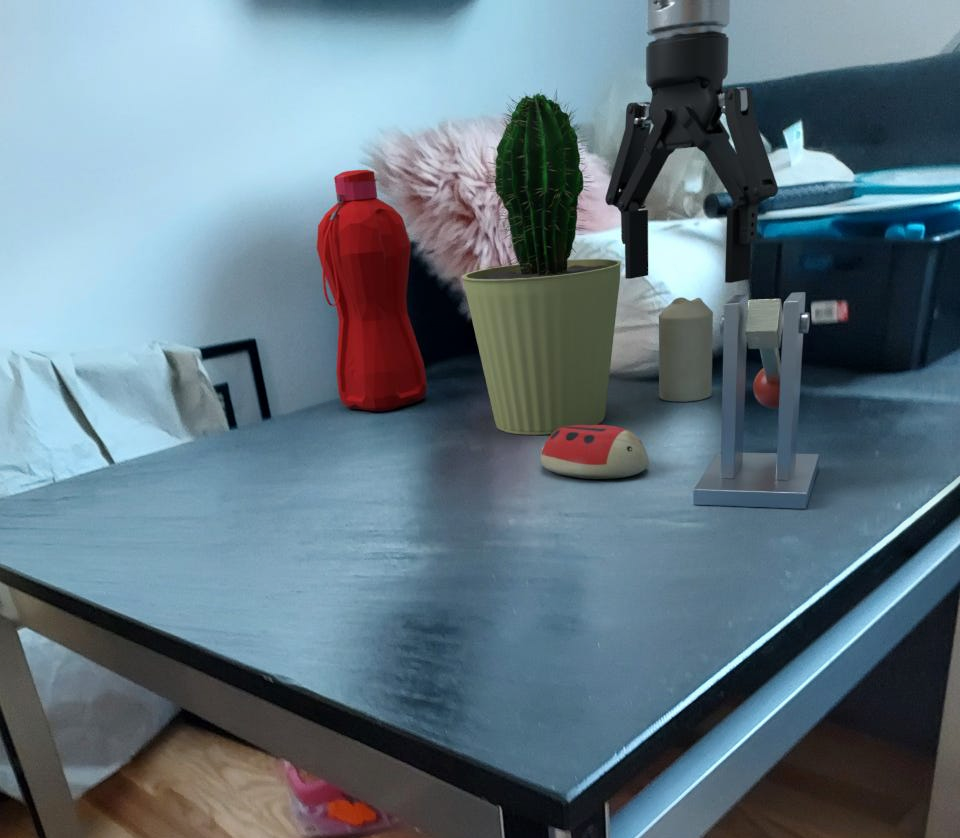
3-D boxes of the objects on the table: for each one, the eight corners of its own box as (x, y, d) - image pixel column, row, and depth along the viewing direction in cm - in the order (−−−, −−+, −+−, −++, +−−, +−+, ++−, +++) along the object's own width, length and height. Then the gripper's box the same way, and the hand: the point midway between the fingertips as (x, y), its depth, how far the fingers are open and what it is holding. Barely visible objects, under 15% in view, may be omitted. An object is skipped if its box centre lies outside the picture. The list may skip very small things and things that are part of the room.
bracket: (716, 466, 79) (720, 290, 73) (818, 468, 76) (830, 285, 70) (693, 504, 71) (694, 310, 65) (805, 509, 68) (818, 306, 62)
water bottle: (318, 412, 112) (280, 177, 101) (387, 392, 119) (357, 170, 108) (370, 419, 106) (335, 171, 95) (439, 398, 113) (414, 164, 102)
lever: (753, 415, 80) (757, 374, 81) (797, 415, 79) (802, 373, 79) (733, 340, 67) (739, 292, 68) (786, 338, 66) (792, 289, 66)
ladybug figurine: (630, 486, 76) (629, 442, 74) (523, 477, 81) (520, 436, 79) (662, 463, 81) (662, 421, 79) (558, 455, 86) (556, 416, 84)
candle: (651, 395, 104) (649, 299, 100) (696, 388, 105) (697, 293, 101) (673, 404, 100) (672, 304, 95) (720, 397, 101) (722, 297, 96)
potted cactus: (465, 414, 104) (435, 101, 91) (601, 397, 106) (591, 87, 93) (488, 448, 90) (457, 86, 77) (644, 428, 92) (640, 69, 79)
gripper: (567, 55, 95) (575, 280, 105) (771, 10, 77) (759, 288, 86) (621, 54, 99) (624, 271, 108) (828, 11, 81) (811, 277, 90)
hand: (684, 279), depth 97 cm, fingers open, 13 cm apart
